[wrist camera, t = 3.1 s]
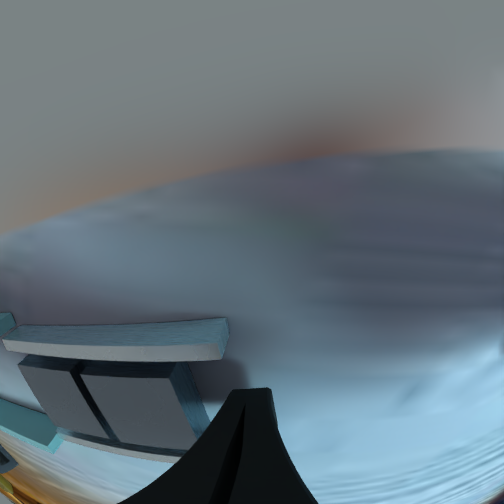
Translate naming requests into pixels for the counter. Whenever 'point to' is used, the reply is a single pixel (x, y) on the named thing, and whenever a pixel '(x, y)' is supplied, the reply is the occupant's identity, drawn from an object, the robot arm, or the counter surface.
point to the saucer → (5, 485)
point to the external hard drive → (6, 461)
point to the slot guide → (124, 349)
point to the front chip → (148, 401)
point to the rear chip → (64, 393)
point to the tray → (26, 414)
